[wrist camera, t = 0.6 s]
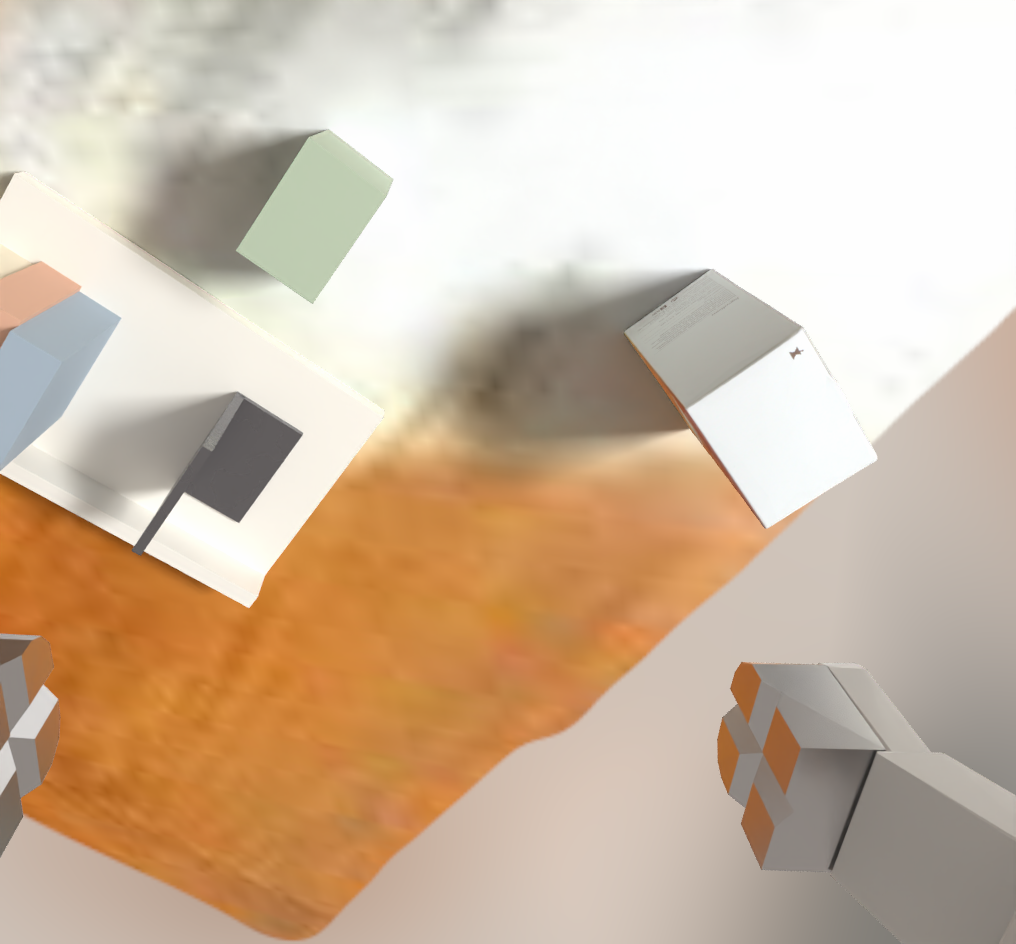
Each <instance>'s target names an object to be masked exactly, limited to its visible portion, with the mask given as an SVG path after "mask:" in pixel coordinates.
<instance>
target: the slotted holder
mask: <svg viewBox="0 0 1016 944" xmlns="http://www.w3.org/2000/svg"><path fill="white" fill-rule="evenodd" d="M384 412H385V410H383V409H382V408H380V407H379V406H377V405H376V404H374V403H373V402H371V401H370V400H368V399H367V398H365V397H364V396H362V395H361V394H359V393H358V392H356V391H355V390H353V389H352V388H350V387H349V386H347V385H346V384H344V383H343V382H341V381H340V380H338V379H337V378H335V377H334V376H332V375H331V374H329V373H328V372H326V371H325V370H323V369H322V368H320V367H319V366H317V365H316V364H314V363H313V362H311V361H310V360H308V359H307V358H305V357H304V356H302V355H301V354H299V353H298V352H296V351H295V350H293V349H292V348H290V347H289V346H287V345H286V344H284V343H283V342H281V341H280V340H278V339H277V338H275V337H274V336H272V335H271V334H269V333H268V332H266V331H265V330H263V329H262V328H260V327H259V326H257V325H256V324H254V323H253V322H251V321H250V320H248V319H247V318H245V317H244V316H242V315H241V314H239V313H238V312H236V311H235V310H233V309H232V308H230V307H229V306H227V305H226V304H224V303H223V302H221V301H220V300H218V299H217V298H215V297H214V296H212V295H211V294H209V293H208V292H206V291H205V290H203V289H202V288H200V287H199V286H197V285H196V284H194V283H193V282H191V281H190V280H188V279H187V278H185V277H184V276H182V275H181V274H179V273H178V272H176V271H175V270H173V269H172V268H170V267H169V266H167V265H166V264H164V263H163V262H161V261H160V260H158V259H157V258H155V257H154V256H152V255H151V254H149V253H148V252H146V251H145V250H143V249H142V248H140V247H139V246H137V245H136V244H134V243H133V242H131V241H129V240H128V239H126V238H125V237H123V236H122V235H120V234H119V233H117V232H116V231H114V230H113V229H111V228H110V227H108V226H107V225H105V224H104V223H102V222H101V221H99V220H98V219H96V218H95V217H93V216H92V215H90V214H89V213H87V212H86V211H84V210H83V209H81V208H80V207H78V206H77V205H75V204H74V203H72V202H71V201H69V200H68V199H66V198H65V197H63V196H62V195H60V194H59V193H57V192H56V191H54V190H53V189H51V188H50V187H48V186H47V185H45V184H44V183H42V182H41V181H39V180H38V179H36V178H35V177H33V176H32V175H30V174H29V173H27V172H26V171H24V172H19V173H15V174H14V176H13V177H12V179H11V181H10V183H9V185H8V187H7V189H6V191H5V192H4V194H3V196H2V198H1V200H0V474H2V475H4V476H6V477H8V478H10V479H11V480H13V481H15V482H17V483H19V484H21V485H23V486H24V487H26V488H28V489H30V490H32V491H34V492H35V493H37V494H39V495H41V496H43V497H45V498H47V499H48V500H50V501H52V502H54V503H56V504H58V505H60V506H61V507H63V508H65V509H67V510H69V511H71V512H72V513H74V514H76V515H78V516H80V517H82V518H84V519H85V520H87V521H89V522H91V523H93V524H95V525H96V526H98V527H100V528H102V529H104V530H106V531H108V532H109V533H111V534H113V535H115V536H117V537H119V538H121V539H122V540H124V541H126V542H128V543H130V544H132V545H133V546H134V547H133V549H132V551H133V552H135V553H136V554H138V555H140V556H141V554H142V553H143V552H144V551H145V552H146V553H148V554H150V555H152V556H154V557H156V558H157V559H159V560H161V561H163V562H165V563H167V564H169V565H170V566H172V567H174V568H176V569H178V570H180V571H182V572H183V573H185V574H187V575H189V576H191V577H193V578H194V579H196V580H198V581H200V582H202V583H204V584H206V585H207V586H209V587H211V588H213V589H215V590H217V591H218V592H220V593H222V594H224V595H226V596H228V597H230V598H231V599H233V600H235V601H237V602H239V603H241V604H243V605H244V606H246V607H248V608H249V607H250V606H251V605H252V603H253V602H254V601H255V600H256V598H257V597H258V594H259V592H260V589H261V586H262V583H263V580H264V577H265V575H266V573H267V572H268V571H269V569H270V568H271V567H272V565H273V564H274V563H275V561H276V560H277V559H278V557H279V556H280V555H281V553H282V552H283V551H284V549H285V548H286V547H287V545H288V544H289V543H290V541H291V540H292V539H293V537H294V536H295V535H296V533H297V532H298V531H299V529H300V528H301V527H302V525H303V524H304V523H305V521H306V520H307V519H308V518H309V516H310V515H311V514H312V512H313V511H314V510H315V508H316V507H317V506H318V504H319V503H320V502H321V500H322V499H323V498H324V496H325V495H326V494H327V492H328V491H329V490H330V488H331V487H332V486H333V484H334V483H335V482H336V480H337V479H338V478H339V476H340V475H341V474H342V472H343V471H344V470H345V468H346V467H347V466H348V464H349V463H350V462H351V460H352V459H353V458H354V456H355V455H356V454H357V452H358V451H359V450H360V448H361V447H362V446H363V445H364V443H365V442H366V441H367V439H368V438H369V437H370V435H371V434H372V433H373V431H374V430H375V429H376V427H377V426H378V425H379V423H380V422H381V421H382V419H383V418H384Z"/></svg>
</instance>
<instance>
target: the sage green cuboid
mask: <svg viewBox="0 0 1016 944" xmlns="http://www.w3.org/2000/svg"><path fill="white" fill-rule="evenodd" d="M392 182H393V179H392V178H391V177H390V176H388V175H387V174H386V173H385V172H383V171H382V170H381V169H379V168H378V167H377V166H375V165H374V164H373V163H372V162H370V161H369V160H368V159H366V158H365V157H364V156H363V155H361V154H360V153H359V152H357V151H356V150H355V149H354V148H352V147H351V146H350V145H348V144H347V143H346V142H344V141H343V140H342V139H341V138H339V137H338V136H337V135H335V134H334V133H333V132H332V131H330V130H326V131H323V132H321V133H318V134H315V135H313V136H310V137H308V139H307V140H306V142H305V144H304V145H303V147H302V148H301V150H300V151H299V153H298V154H297V156H296V158H295V159H294V161H293V162H292V164H291V165H290V167H289V169H288V170H287V172H286V173H285V175H284V176H283V178H282V179H281V181H280V183H279V184H278V186H277V187H276V189H275V190H274V192H273V193H272V195H271V197H270V198H269V200H268V201H267V203H266V204H265V206H264V208H263V209H262V211H261V212H260V214H259V215H258V217H257V218H256V220H255V222H254V223H253V225H252V226H251V228H250V229H249V231H248V232H247V234H246V236H245V237H244V239H243V240H242V242H241V243H240V245H239V247H238V248H237V250H236V251H237V252H238V253H240V254H241V255H242V256H244V257H245V258H247V259H248V260H250V261H251V262H253V263H254V264H255V265H257V266H258V267H260V268H261V269H263V270H264V271H266V272H267V273H268V274H270V275H271V276H273V277H274V278H276V279H277V280H279V281H280V282H281V283H283V284H284V285H286V286H287V287H289V288H290V289H292V290H293V291H294V292H296V293H297V294H299V295H300V296H302V297H303V298H305V299H306V300H307V301H309V302H310V303H312V304H313V302H314V301H315V300H316V298H317V297H318V295H319V294H320V292H321V291H322V289H323V288H324V286H325V285H326V284H327V282H328V281H329V279H330V278H331V276H332V275H333V273H334V272H335V270H336V269H337V268H338V266H339V265H340V263H341V262H342V260H343V259H344V257H345V256H346V254H347V253H348V252H349V250H350V249H351V247H352V246H353V244H354V243H355V241H356V240H357V238H358V237H359V236H360V234H361V233H362V231H363V230H364V228H365V227H366V225H367V224H368V222H369V221H370V220H371V218H372V217H373V215H374V214H375V212H376V211H377V209H378V208H379V206H380V205H381V204H382V202H383V201H384V199H385V198H386V196H387V194H388V191H389V189H390V186H391V184H392Z"/></svg>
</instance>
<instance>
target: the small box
mask: <svg viewBox="0 0 1016 944" xmlns="http://www.w3.org/2000/svg"><path fill="white" fill-rule="evenodd" d="M624 335H625V336H626V337H627V339H628V340H629V342H630V343H631V344H632V346H633V347H634V348H635V350H636V351H637V353H638V354H639V356H640V357H641V358H642V360H643V361H644V363H645V364H646V366H647V367H648V368H649V370H650V371H651V373H652V374H653V375H654V377H655V378H656V380H657V381H658V383H659V384H660V385H661V387H662V388H663V390H664V391H665V393H666V394H667V396H668V397H669V399H670V400H671V402H672V403H673V405H674V406H675V407H676V409H677V410H678V412H679V413H680V415H681V416H682V418H683V419H684V421H685V422H686V424H687V425H688V427H689V428H690V430H691V431H692V433H693V434H694V435H695V436H696V437H697V439H698V440H699V441H700V443H701V444H702V445H703V447H704V448H705V449H706V451H707V452H708V453H709V454H710V455H711V457H712V458H713V459H714V461H715V462H716V464H717V465H718V466H719V468H720V469H721V470H722V472H723V473H724V474H725V475H726V477H727V478H728V479H729V481H730V482H731V483H732V485H733V486H734V488H735V489H736V490H737V491H738V493H739V494H740V495H741V497H742V498H743V499H744V501H745V502H746V503H747V505H748V506H749V508H750V509H751V511H752V512H753V513H754V515H755V516H756V517H757V518H758V520H759V521H760V522H761V524H762V525H763V527H764V528H769V527H771V526H772V525H774V524H775V523H777V522H778V521H780V520H782V519H783V518H785V517H786V516H788V515H790V514H791V513H793V512H794V511H796V510H797V509H799V508H801V507H802V506H804V505H805V504H807V503H808V502H810V501H812V500H813V499H815V498H816V497H818V496H820V495H821V494H823V493H824V492H826V491H827V490H829V489H831V488H832V487H834V486H835V485H837V484H839V483H840V482H842V481H843V480H845V479H847V478H848V477H850V476H852V475H853V474H855V473H857V472H858V471H860V470H861V469H863V468H865V467H866V466H868V465H870V464H871V463H873V462H875V461H876V460H877V455H876V453H875V451H874V449H873V447H872V445H871V443H870V441H869V440H868V438H867V436H866V434H865V432H864V430H863V429H862V427H861V425H860V423H859V421H858V419H857V418H856V416H855V414H854V412H853V410H852V409H851V407H850V405H849V403H848V400H847V398H846V396H845V395H844V393H843V391H842V389H841V388H840V386H839V385H838V383H837V381H836V379H835V378H834V376H833V375H832V374H831V372H830V371H829V369H828V368H827V366H826V364H825V363H824V361H823V359H822V358H821V356H820V354H819V352H818V351H817V349H816V347H815V346H814V344H813V342H812V341H811V339H810V337H809V336H808V334H807V332H806V331H805V329H804V328H803V327H802V326H800V325H799V324H797V323H796V322H794V321H792V320H791V319H789V318H788V317H786V316H785V315H783V314H782V313H780V312H779V311H777V310H775V309H774V308H772V307H771V306H769V305H768V304H766V303H765V302H763V301H761V300H760V299H758V298H757V297H755V296H753V295H752V294H750V293H749V292H747V291H745V290H744V289H742V288H741V287H739V286H738V285H736V284H734V283H733V282H732V281H730V280H729V279H727V278H726V277H724V276H723V275H721V274H720V273H718V272H717V271H715V270H714V269H711V270H709V271H708V272H706V273H705V274H704V275H702V276H701V277H699V278H698V279H697V280H695V281H694V282H693V283H691V284H690V285H688V286H687V287H685V288H684V289H683V290H681V291H680V292H679V293H677V294H676V295H674V296H673V297H672V298H670V299H669V300H667V301H666V302H665V303H663V304H662V305H660V306H659V307H658V308H656V309H655V310H654V311H652V312H651V313H649V314H648V315H647V316H645V317H644V318H643V319H641V320H640V321H638V322H637V323H635V324H634V325H633V326H631V327H630V328H628V329H627V330H625V331H624Z"/></svg>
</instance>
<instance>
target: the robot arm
mask: <svg viewBox="0 0 1016 944" xmlns="http://www.w3.org/2000/svg"><path fill="white" fill-rule="evenodd" d="M53 668H54V665H53V659H52V654H51V648H50V643H49V642H48V641H47V640H46V639H44V638H43V637H42V636H31V635H14V634H0V857H1V855H2V853H3V852H4V850H5V848H6V846H7V845H8V843H9V841H10V839H11V838H12V836H13V834H14V832H15V830H16V829H17V827H18V825H19V823H20V821H21V820H22V818H23V811H22V805H21V797H23V796H24V795H26V794H27V793H29V792H30V791H32V790H33V789H35V788H36V787H38V786H39V785H41V784H42V782H43V780H44V778H45V776H46V774H47V772H48V770H49V769H50V767H51V765H52V762H53V758H54V755H55V751H56V747H57V744H58V740H59V731H60V710H59V702H58V699H57V698H56V697H55V696H54V695H53V694H52V693H51V692H50V691H49V690H48V689H47V688H46V687H45V686H44V685H43V684H44V682H45V681H46V679H47V677H48V676H49V674H50V673H51V671H52V670H53ZM730 689H731V691H732V693H733V695H734V697H735V699H736V701H737V703H738V704H737V705H736V706H735V707H733V708H732V709H731V710H730V711H729V712H728V713H727V714H726V715H725V716H723V717H722V722H721V726H720V730H719V735H718V739H717V741H718V764H719V769H720V774H721V778H722V780H723V783H724V785H725V788H726V790H727V793H728V795H730V796H731V797H732V798H733V799H735V800H736V801H737V802H738V803H740V804H741V805H742V806H743V807H745V812H744V815H743V818H742V822H741V825H742V827H743V829H744V832H745V834H746V836H747V839H748V841H749V843H750V845H751V848H752V850H753V852H754V854H755V857H756V859H757V861H758V863H759V866H760V868H761V870H779V871H811V872H832V873H831V877H832V878H833V879H835V880H836V881H837V882H838V883H839V884H840V885H841V886H842V887H843V888H844V889H845V890H846V891H847V892H848V893H849V894H851V896H853V897H854V898H855V899H856V900H857V901H858V902H859V903H860V904H861V905H862V906H863V907H864V908H865V909H866V910H867V911H868V912H870V913H871V914H872V915H873V916H874V917H875V918H876V919H877V920H878V921H879V922H880V923H881V924H882V925H883V926H884V927H886V928H887V930H889V931H890V932H891V933H892V934H893V935H894V936H895V937H896V938H897V939H898V940H899V941H900V942H901V943H902V944H1016V795H1014V794H1012V793H1010V792H1009V791H1007V790H1005V789H1004V788H1002V787H1000V786H998V785H997V784H995V783H993V782H992V781H990V780H988V779H987V778H985V777H983V776H982V775H980V774H978V773H976V772H975V771H973V770H971V769H970V768H968V767H966V766H965V765H963V764H961V763H960V762H958V761H956V760H955V759H953V758H951V757H949V756H948V755H946V754H944V753H932V752H930V750H929V749H928V748H927V746H926V745H925V744H924V743H923V741H922V740H921V739H920V737H919V736H918V735H917V734H916V732H915V731H914V730H913V729H912V727H911V726H910V725H909V723H908V722H907V721H906V720H905V718H904V717H903V716H902V714H901V713H900V712H899V710H898V709H897V708H896V707H895V705H894V704H893V703H892V701H891V700H890V699H889V698H888V696H887V695H886V694H885V692H884V691H883V690H882V689H881V687H880V686H879V685H878V683H877V682H876V681H875V679H874V678H873V677H872V676H871V674H870V673H869V672H868V670H867V669H865V668H864V667H862V666H860V665H858V664H856V663H818V664H786V663H784V664H783V663H751V662H741V664H740V665H739V667H738V668H737V670H736V672H735V674H734V678H733V681H732V684H731V688H730Z"/></svg>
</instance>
